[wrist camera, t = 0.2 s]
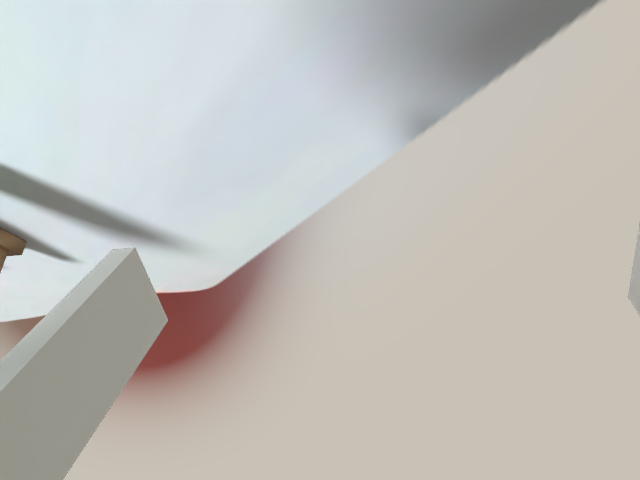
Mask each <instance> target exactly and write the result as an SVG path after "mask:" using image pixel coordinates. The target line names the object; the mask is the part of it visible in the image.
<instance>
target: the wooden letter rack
mask: <svg viewBox="0 0 640 480" xmlns="http://www.w3.org/2000/svg"><path fill="white" fill-rule="evenodd" d="M25 244H26V241H24V240H22V239H20V238H18V237H16V236H14V235H12V234H10V233H8V232H7V231H5V230H3V229H1V228H0V272H1V270H2V267H3V264H4V261H5V259H6V256H13V255H22V253H23V250H24V247H25Z"/></svg>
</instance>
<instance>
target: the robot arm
mask: <svg viewBox="0 0 640 480" xmlns="http://www.w3.org/2000/svg"><path fill="white" fill-rule="evenodd" d="M628 298H629V300H630V301H631V303H632V305H633V306H634V308H635V309H636V311H637V312H638V314H639V315H640V224H639V231H638V237H637V244H636V250H635V256H634V262H633V268H632V275H631V281H630V287H629V294H628ZM167 321H168V319H167V317H166V314H165V312H164V310H163V308H162V306H161V303H160V301H159V299H158V297H157V295H156V292H155V290H154V288H153V286H152V284H151V281H150V279H149V277H148V275H147V273H146V270H145V268H144V266H143V264H142V261H141V259H140V257H139V255H138V253H137V250H136V248H124V249H113V250H112V251H111V252H110V253H109V254H108V255H107V256H106V257H105V258H104V259H102V260H101V261H100V262H99V263H98V264H97V265H96V266H95V267H94V268H93V269H92V270H91V271H90V272H89V273H88V274H87V275H86V276H85V277H84V278H83V279H82V280H81V281H80V282H79V283H78V284H77V285H76V286H75V287H74V288H73V289H72V290H71V291H70V292H69V293H68V294H67V295H66V296H65V297H64V298H63V299H62V300H61V301H60V302H59V303H58V304H57V305H56V306H55V307H54V308H53V309H52V310H51V311H50V312H49V313H48V314H47V315H46V316H45V317H44V318H43V319H42V320H41V321H40V322H39V323H38V324H37V325H36V326H35V327H34V328H33V329H32V330H31V331H30V332H29V333H28V334H27V335H26V336H25V337H24V338H23V339H22V340H21V341H20V342H19V343H18V344H17V345H16V346H15V347H14V348H13V349H12V350H11V351H10V352H9V353H8V354H7V355H6V356H5V357H4V358H3V359H2V360H1V361H0V480H63V479H64V477H65V476H66V474H67V473H68V471H69V470H70V468H71V467H72V465H73V464H74V462H75V461H76V459H77V458H78V456H79V455H80V453H81V452H82V450H83V449H84V447H85V446H86V444H87V443H88V441H89V440H90V438H91V437H92V435H93V433H94V432H95V430H96V429H97V427H98V426H99V424H100V423H101V421H102V420H103V418H104V417H105V415H106V414H107V412H108V411H109V409H110V407H111V406H112V405H113V403H114V402H115V400H116V399H117V397H118V396H119V394H120V393H121V391H122V389H123V388H124V386H125V385H126V383H127V382H128V380H129V379H130V377H131V376H132V374H133V373H134V371H135V370H136V368H137V367H138V365H139V364H140V362H141V360H142V359H143V358H144V356H145V355H146V353H147V351H148V350H149V348H150V347H151V345H152V344H153V342H154V341H155V339H156V338H157V336H158V335H159V333H160V332H161V330H162V329H163V327H164V326H165V324H166V323H167Z"/></svg>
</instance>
